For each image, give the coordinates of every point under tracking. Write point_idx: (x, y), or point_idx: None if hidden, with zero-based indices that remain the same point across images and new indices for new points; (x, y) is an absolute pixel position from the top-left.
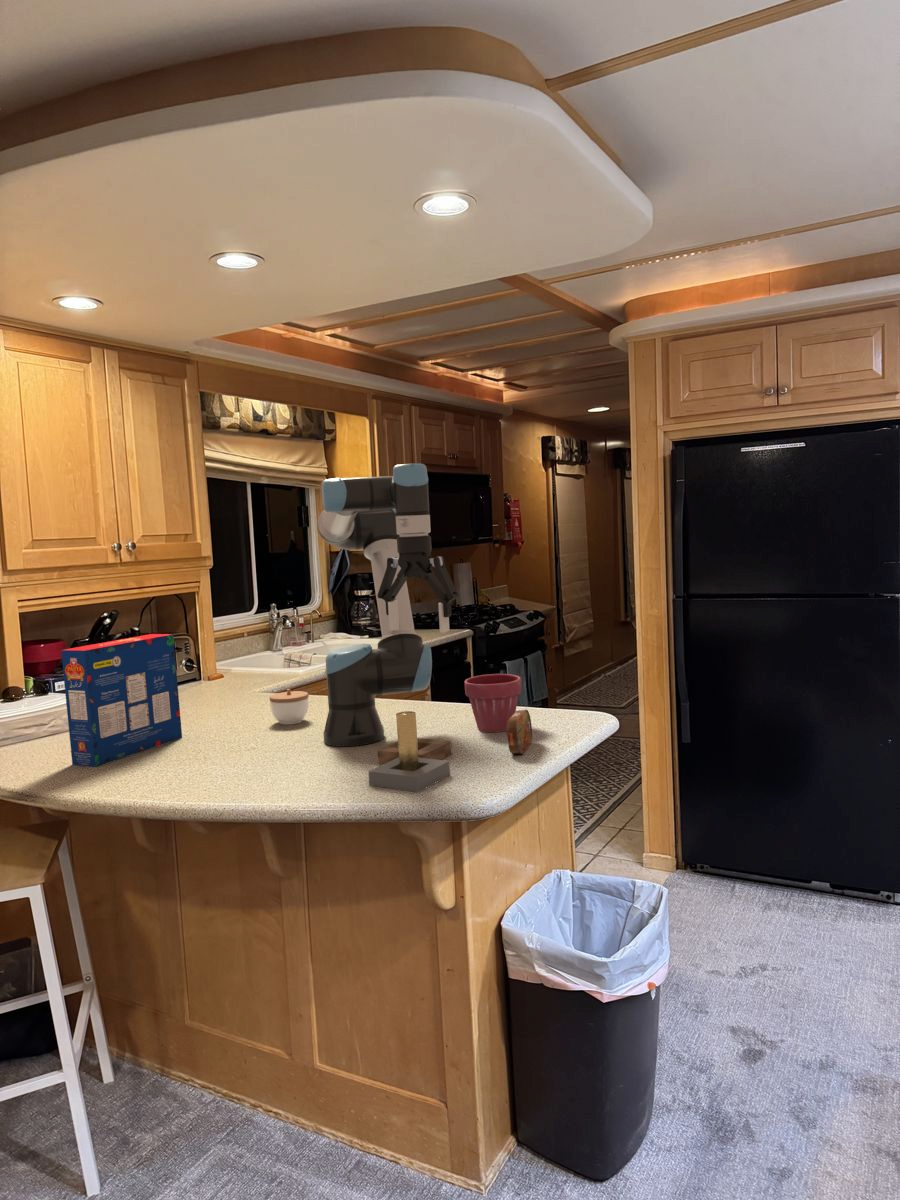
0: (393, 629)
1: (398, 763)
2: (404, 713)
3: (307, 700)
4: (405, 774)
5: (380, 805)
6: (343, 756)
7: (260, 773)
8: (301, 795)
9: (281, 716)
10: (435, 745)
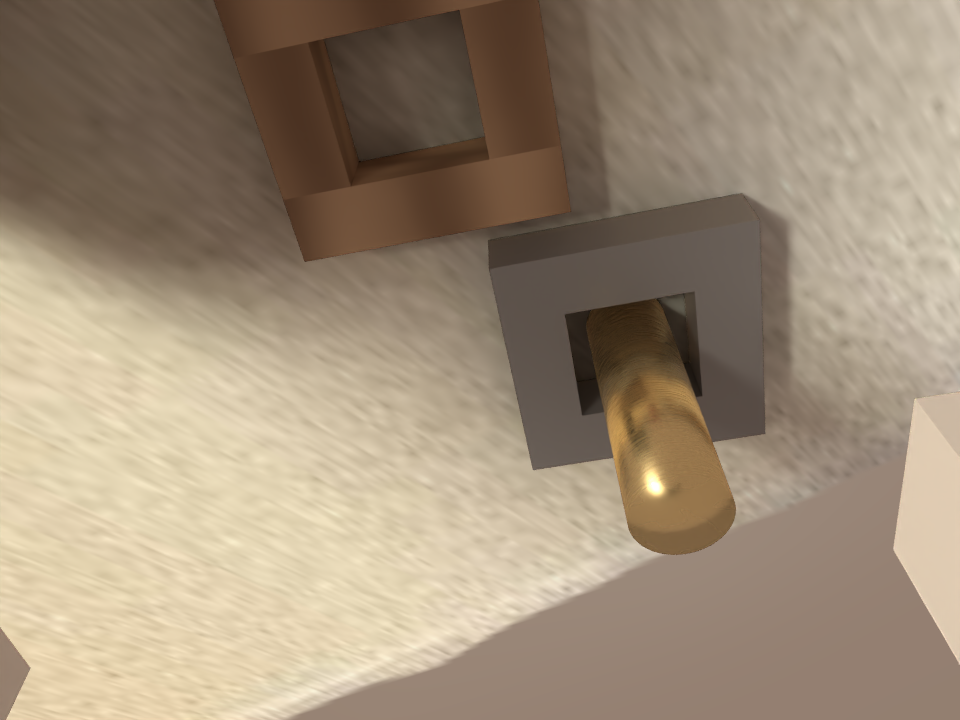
0: (6, 657)
1: (566, 354)
2: (673, 518)
3: None
4: None
5: None
6: (71, 237)
7: (58, 529)
8: (409, 582)
9: None
10: (505, 37)
